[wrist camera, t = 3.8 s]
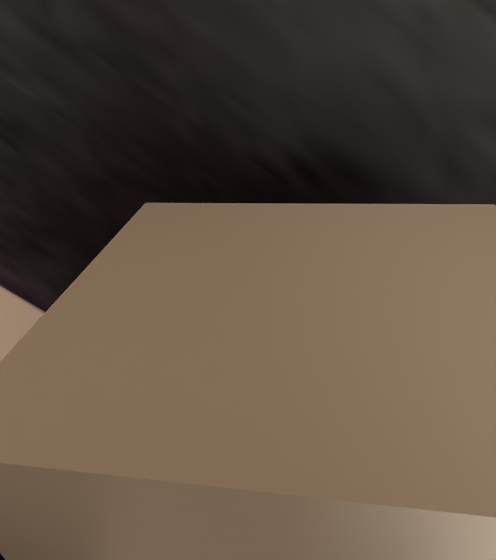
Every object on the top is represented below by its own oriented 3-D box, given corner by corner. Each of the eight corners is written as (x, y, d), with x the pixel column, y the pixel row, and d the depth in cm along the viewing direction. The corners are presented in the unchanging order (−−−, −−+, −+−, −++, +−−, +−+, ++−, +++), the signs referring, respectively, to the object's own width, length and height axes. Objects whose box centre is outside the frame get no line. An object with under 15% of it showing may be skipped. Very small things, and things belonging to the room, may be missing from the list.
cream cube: (425, 434, 13) (509, 754, 7) (188, 414, 14) (104, 678, 8) (494, 204, 8) (825, 554, 3) (145, 202, 10) (-83, 453, 4)
